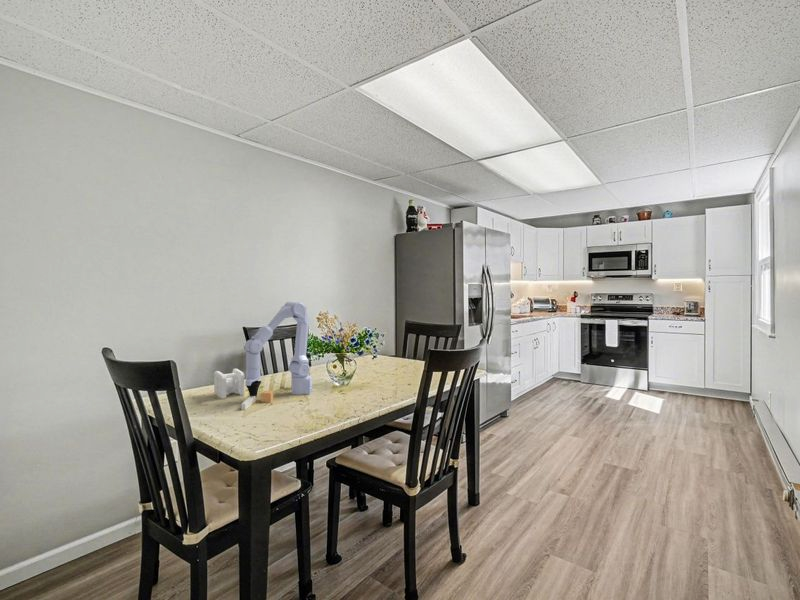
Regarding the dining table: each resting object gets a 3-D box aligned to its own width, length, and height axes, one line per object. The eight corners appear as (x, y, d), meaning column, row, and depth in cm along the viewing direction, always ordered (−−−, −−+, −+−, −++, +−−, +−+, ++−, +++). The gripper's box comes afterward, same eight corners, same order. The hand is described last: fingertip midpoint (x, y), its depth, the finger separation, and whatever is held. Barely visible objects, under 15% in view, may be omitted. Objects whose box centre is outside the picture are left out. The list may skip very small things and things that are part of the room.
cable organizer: (245, 398, 188) (245, 373, 188) (220, 402, 182) (220, 375, 181) (236, 391, 200) (236, 367, 200) (212, 394, 194) (212, 370, 193)
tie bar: (255, 401, 179) (255, 395, 178) (246, 409, 167) (246, 403, 166) (250, 401, 178) (249, 395, 178) (240, 409, 166) (240, 403, 166)
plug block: (273, 399, 182) (273, 390, 182) (270, 402, 178) (270, 393, 178) (264, 399, 182) (264, 390, 182) (261, 402, 178) (261, 393, 178)
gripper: (249, 364, 186) (249, 394, 187) (238, 370, 172) (238, 403, 172) (265, 364, 186) (265, 393, 187) (255, 370, 172) (255, 402, 172)
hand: (253, 398), depth 180 cm, fingers closed
